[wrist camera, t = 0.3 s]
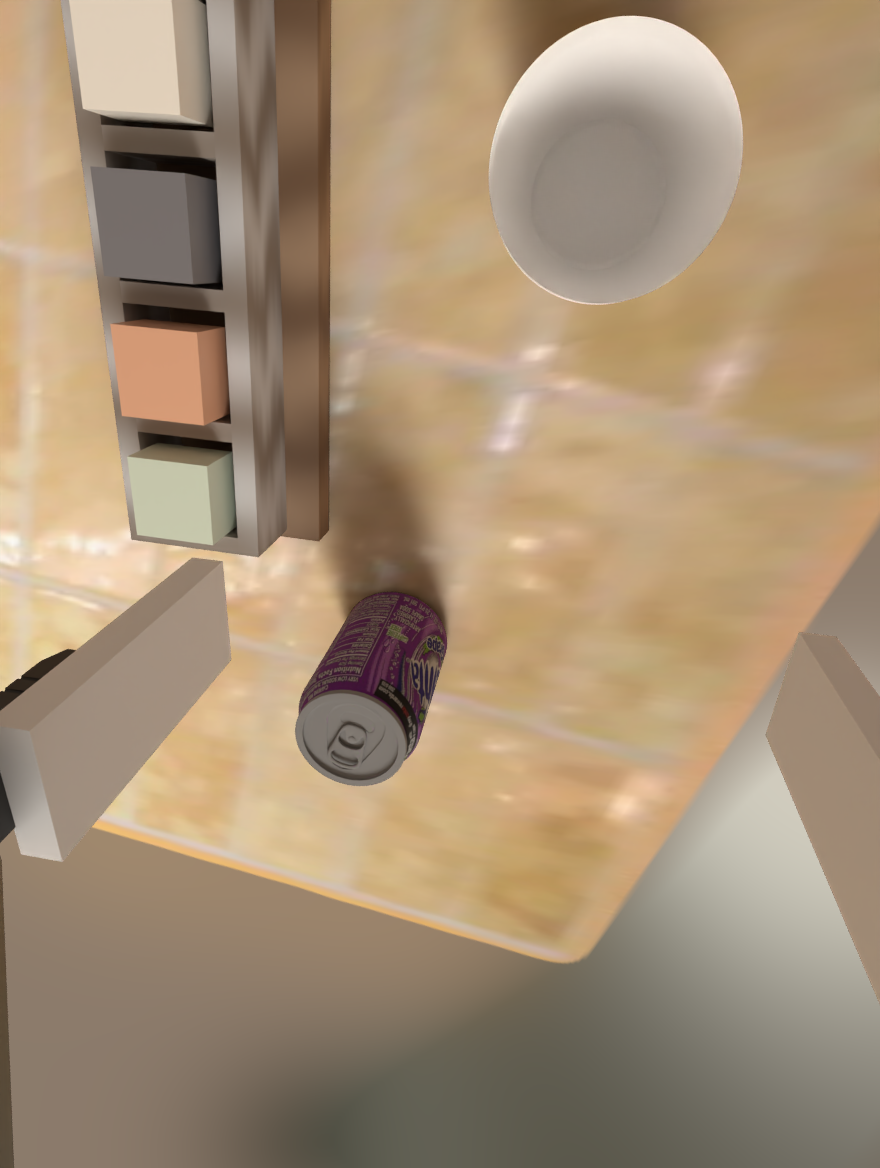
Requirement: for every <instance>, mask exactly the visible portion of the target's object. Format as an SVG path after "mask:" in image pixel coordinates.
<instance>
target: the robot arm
mask: <svg viewBox="0 0 880 1168" xmlns="http://www.w3.org/2000/svg"><path fill="white" fill-rule="evenodd" d="M230 661H231V650H230V639H229V628H228V616H227V605H226V594H225V582H224V571H223V561H215V560H207V559H199V558H191V559H190V560H189V561H188V562H186V563H185V564H184V565H183V566H181V567H180V568H179V569H178V570H176V571H175V572H174V573H173V574H171V575H170V576H169V577H168V578H166V579H165V580H164V581H163V582H161V583H160V584H159V585H158V586H156V587H155V588H154V589H153V590H151V591H150V592H149V593H148V594H146V595H145V596H144V597H143V598H141V599H140V600H139V601H137V602H136V603H135V604H134V605H132V606H131V607H130V608H129V609H127V610H126V611H125V612H124V613H122V614H121V615H120V616H119V617H117V618H116V619H115V620H114V621H112V622H111V623H110V624H109V625H107V626H106V627H105V628H104V629H102V630H101V631H100V632H99V633H97V634H96V635H95V636H94V637H92V638H91V639H90V640H89V641H87V642H86V643H85V644H84V645H82V646H81V647H80V648H79V649H77V650H71V649H67V650H64V651H62V652H60V653H58V654H55V655H53V656H51V657H49V658H46V659H44V660H42V661H40V662H39V663H38V664H36V665H35V666H34V667H32V668H31V669H30V670H28V671H27V672H26V673H25V674H23V675H22V676H21V679H17V680H15V681H14V682H13V683H11V684H10V685H9V686H8V687H6V688H5V691H4V692H3V691H1V692H0V842H1V841H2V840H3V839H4V838H5V837H6V836H7V835H8V834H9V833H10V832H11V831H12V830H13V829H14V830H15V834H16V837H17V841H18V844H19V848H20V852H21V854H22V855H28V856H34V857H39V858H44V859H50V860H55V861H60V862H63V860H64V859H65V858H66V857H67V856H68V854H69V853H70V852H71V851H72V850H73V848H74V847H75V846H76V845H77V844H78V842H79V841H80V840H81V839H82V838H83V836H84V835H85V834H86V833H87V832H88V830H89V829H90V828H91V827H92V826H93V825H94V823H95V822H96V821H97V820H98V819H99V817H100V816H101V815H102V814H103V813H104V811H105V810H106V809H107V808H108V807H109V805H110V804H111V803H112V802H113V801H114V799H115V798H116V797H117V796H118V795H119V793H120V792H121V791H122V790H123V789H124V788H125V786H126V785H127V784H128V783H129V782H130V780H131V779H132V778H133V777H134V776H135V774H136V773H137V772H138V771H139V770H140V768H141V767H142V766H143V765H144V764H145V762H146V761H147V760H148V759H149V758H150V756H151V755H152V754H153V753H154V752H155V750H156V749H157V748H158V747H159V746H160V744H161V743H162V742H163V741H164V740H165V738H166V737H167V736H168V735H169V734H170V732H171V731H172V730H173V729H174V728H175V726H176V725H177V724H178V723H179V722H180V721H181V719H182V718H183V717H184V716H185V715H186V713H187V712H188V711H189V710H190V709H191V707H192V706H193V705H194V704H195V703H196V701H197V700H198V699H199V698H200V697H201V695H202V694H203V693H204V692H205V691H206V689H207V688H208V687H209V686H210V685H211V683H212V682H213V681H214V680H215V679H216V677H217V676H218V675H219V674H220V673H221V671H222V670H223V669H224V668H225V667H226V665H227V664H228V663H229V662H230ZM766 737H767V739H768V742H769V744H770V747H771V749H772V751H773V753H774V756H775V758H776V761H777V763H778V766H779V768H780V770H781V773H782V775H783V777H784V780H785V782H786V784H787V787H788V789H789V791H790V794H791V796H792V798H793V801H794V803H795V806H796V808H797V810H798V813H799V815H800V817H801V820H802V822H803V824H804V827H805V829H806V832H807V834H808V836H809V839H810V841H811V843H812V846H813V848H814V850H815V853H816V855H817V857H818V860H819V862H820V865H821V867H822V869H823V872H824V874H825V876H826V879H827V881H828V883H829V886H830V888H831V890H832V893H833V895H834V898H835V900H836V902H837V904H838V907H839V909H840V912H841V914H842V916H843V919H844V921H845V924H846V926H847V928H848V931H849V933H850V935H851V938H852V940H853V942H854V945H855V947H856V949H857V952H858V954H859V957H860V959H861V961H862V964H863V966H864V968H865V971H866V973H867V975H868V978H869V980H870V982H871V985H872V987H873V990H874V991H875V994H876V996H877V999H878V1001H879V1003H880V696H879V695H878V694H877V692H876V691H875V689H874V688H873V687H872V685H871V684H870V682H869V681H868V680H867V678H866V677H865V676H864V674H863V673H862V671H861V670H860V669H859V667H858V666H857V665H856V663H855V662H854V660H853V659H852V658H851V656H850V655H849V653H848V652H847V651H846V649H845V648H844V647H843V645H842V644H841V643H840V641H839V640H838V638H837V637H835V636H826V635H818V634H810V633H802V632H799V633H798V636H797V640H796V643H795V646H794V649H793V652H792V655H791V658H790V661H789V664H788V667H787V670H786V673H785V677H784V680H783V683H782V686H781V689H780V692H779V695H778V698H777V701H776V704H775V707H774V711H773V714H772V717H771V720H770V723H769V726H768V729H767V732H766ZM9 1059H10V1057H9V1032H8V1008H7V983H6V958H5V933H4V908H3V883H2V860H1V857H0V1168H14V1156H13V1133H12V1108H11V1107H12V1106H11V1082H10V1060H9Z"/></svg>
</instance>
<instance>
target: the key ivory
mask: <svg viewBox="0 0 880 1168" xmlns="http://www.w3.org/2000/svg"><path fill="white" fill-rule="evenodd" d="M69 4H70V12H71V19H72V27H73V35H74V43H75V51H76V59H77V67H78V74H79V82H80V90H81V98H82V106H83V109H85V110H88V111H91V112H95V113H98V114H101V115H104V116H107V117H111V118H114V119H117V120H120V121H123V122H139V123H154V124H170V125H185V126H200V127H213V116H212V99H211V82H210V65H209V48H208V31H207V14H206V5H205V4H203V3H202V2H200V1H199V0H69Z"/></svg>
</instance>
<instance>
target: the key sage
mask: <svg viewBox="0 0 880 1168" xmlns="http://www.w3.org/2000/svg"><path fill="white" fill-rule="evenodd" d="M127 459H128V467H129V475H130V483H131V491H132V499H133V507H134V514H135V522H136V530H137V535H142V536H149V537H156V538H163V539H171V540H178V541H185V542H192V543H200V544H207V545H214V544H215V543H217V542H218V541H219V540H220V539H221V538H223V537H224V536H225V535H226V534H228V533H229V532H230V531H231V530H233V529H234V528H235V527H236V526H237V524H236V507H235V490H234V473H233V456H232V452H230V451H222V450H213V449H205V448H197V447H189V446H180V445H172V444H164V443H156V444H154V445H151V446H149V447H147V448H145V449H143V450H140V451H138V452H136V453H134V454H131V455H129V456H127Z"/></svg>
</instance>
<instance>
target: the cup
mask: <svg viewBox="0 0 880 1168" xmlns="http://www.w3.org/2000/svg"><path fill="white" fill-rule="evenodd" d="M742 154H743V130H742V120H741V115H740V109H739V105H738V101H737V98H736V95H735V92H734V89H733V87H732V85H731V82H730V80H729V78H728V76H727V74H726V72H725V71H724V69H723V67H722V66H721V64H720V63H719V61H718V60H717V59H716V57H715V56H714V55H713V54H712V52H711V51H710V50H709V49H708V48H707V47H706V46H705V45H704V44H703V43H702V42H700V41H699V40H698V39H697V38H696V37H694V36H693V35H691V34H690V33H688V32H687V31H685V30H684V29H682V28H680V27H678V26H676V25H674V24H671V23H668V22H666V21H663V20H659V19H655V18H650V17H643V16H619V17H613V18H607V19H603V20H599V21H596V22H593V23H590V24H588V25H585V26H582V27H580V28H578V29H576V30H574V31H573V32H571V33H569V34H567V35H566V36H564V37H563V38H561V39H560V40H558V41H557V42H555V43H554V44H553V45H552V46H550V47H549V48H548V49H547V50H545V51H544V52H543V53H542V54H541V55H540V56H539V57H538V58H537V59H536V60H535V61H534V62H533V63H532V65H531V66H530V67H529V68H528V69H527V70H526V72H525V73H524V74H523V76H522V77H521V79H520V80H519V81H518V83H517V84H516V86H515V88H514V89H513V91H512V93H511V94H510V96H509V98H508V100H507V102H506V104H505V106H504V108H503V111H502V113H501V116H500V118H499V121H498V124H497V127H496V131H495V134H494V138H493V143H492V148H491V154H490V162H489V192H490V200H491V206H492V211H493V215H494V219H495V222H496V225H497V228H498V231H499V234H500V236H501V238H502V241H503V243H504V245H505V247H506V249H507V251H508V253H509V254H510V256H511V257H512V259H513V260H514V262H515V263H516V265H517V266H518V267H519V268H520V269H521V270H522V272H523V273H524V274H525V275H526V276H527V277H528V278H529V279H530V280H532V281H533V282H534V283H535V284H537V285H538V286H539V287H541V288H542V289H544V290H546V291H547V292H549V293H551V294H553V295H555V296H557V297H560V298H563V299H565V300H568V301H573V302H577V303H583V304H598V305H600V304H612V303H617V302H622V301H626V300H630V299H633V298H637V297H640V296H642V295H645V294H648V293H650V292H652V291H654V290H656V289H658V288H660V287H662V286H663V285H665V284H667V283H668V282H670V281H671V280H673V279H674V278H675V277H677V276H678V275H679V274H681V273H682V272H683V271H684V270H685V269H687V268H688V267H689V266H690V265H691V264H692V263H693V262H694V261H695V260H696V259H697V258H698V257H699V256H700V255H701V253H702V252H703V251H704V250H705V248H706V247H707V246H708V245H709V243H710V242H711V241H712V239H713V238H714V236H715V235H716V233H717V232H718V230H719V228H720V226H721V224H722V223H723V221H724V219H725V217H726V215H727V212H728V210H729V208H730V206H731V203H732V200H733V197H734V195H735V192H736V188H737V184H738V180H739V176H740V170H741V165H742Z"/></svg>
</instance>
